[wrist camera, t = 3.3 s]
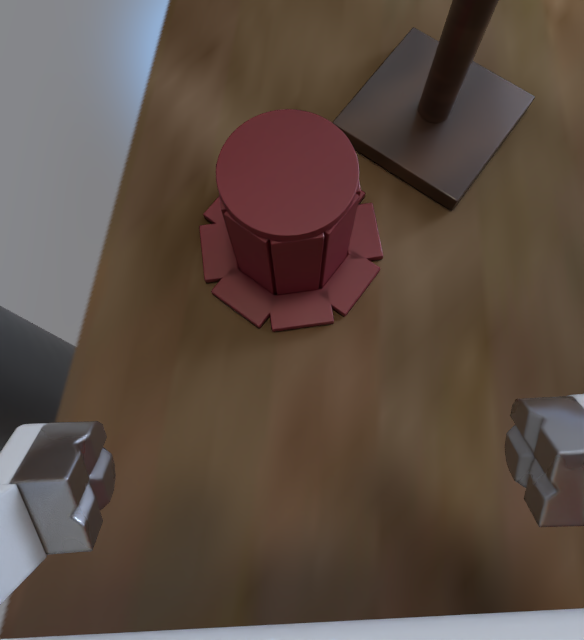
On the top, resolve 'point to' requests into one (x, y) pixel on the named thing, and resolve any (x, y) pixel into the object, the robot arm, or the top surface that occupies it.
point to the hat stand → (436, 107)
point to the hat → (289, 223)
